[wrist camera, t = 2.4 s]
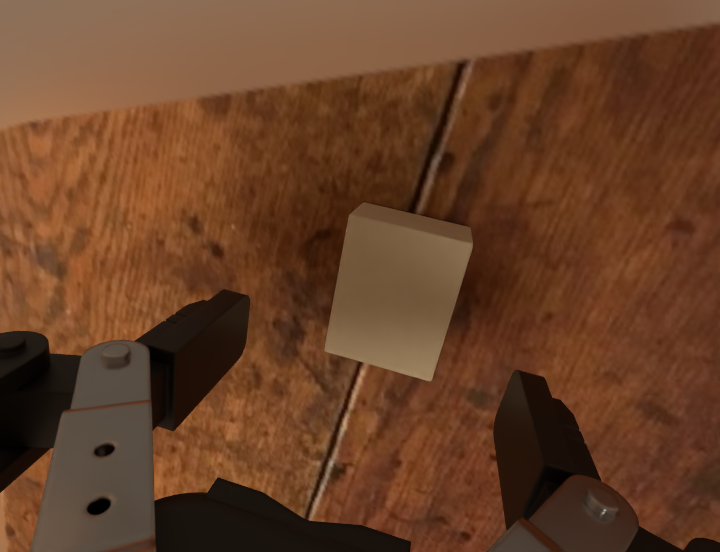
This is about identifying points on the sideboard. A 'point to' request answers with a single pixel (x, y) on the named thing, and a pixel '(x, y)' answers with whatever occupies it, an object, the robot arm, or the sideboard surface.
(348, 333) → the cream pad
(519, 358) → the sideboard surface
